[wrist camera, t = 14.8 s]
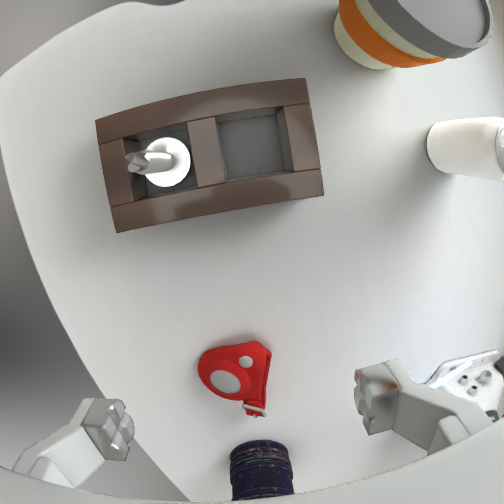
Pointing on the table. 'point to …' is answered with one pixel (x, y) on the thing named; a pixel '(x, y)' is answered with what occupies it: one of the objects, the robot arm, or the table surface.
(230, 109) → the holder
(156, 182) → the screw
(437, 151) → the can
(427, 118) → the table surface
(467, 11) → the reusable coffee cup
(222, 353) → the tracker holder
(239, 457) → the dark blue cylinder
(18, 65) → the table surface
